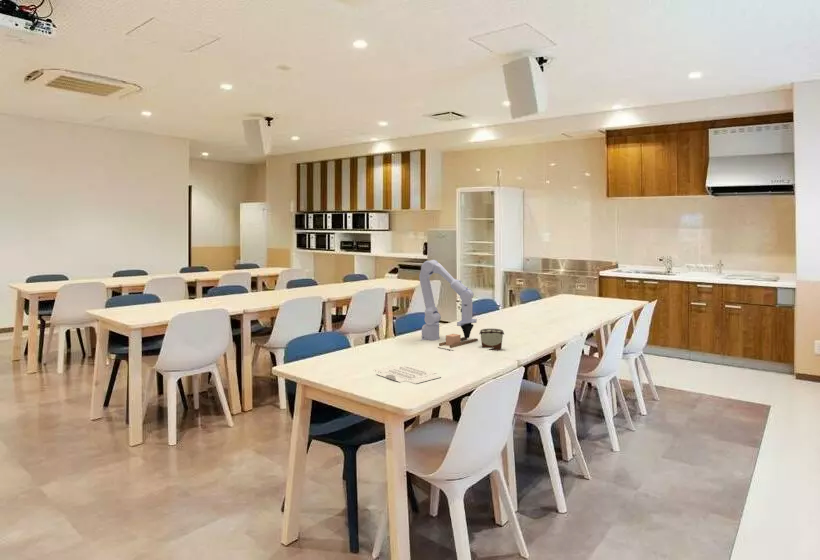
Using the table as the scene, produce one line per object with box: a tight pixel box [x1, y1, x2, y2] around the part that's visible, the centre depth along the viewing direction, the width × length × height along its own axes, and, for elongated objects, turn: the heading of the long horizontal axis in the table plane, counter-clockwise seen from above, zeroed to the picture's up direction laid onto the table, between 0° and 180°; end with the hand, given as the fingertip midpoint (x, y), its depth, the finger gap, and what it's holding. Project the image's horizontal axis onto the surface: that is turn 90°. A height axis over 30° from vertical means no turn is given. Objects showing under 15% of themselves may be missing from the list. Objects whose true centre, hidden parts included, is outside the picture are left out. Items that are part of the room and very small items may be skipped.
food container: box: [478, 328, 505, 351], centre depth 270 cm, size 12×6×10 cm, turn 84°
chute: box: [437, 336, 479, 352], centre depth 279 cm, size 10×22×2 cm, turn 137°
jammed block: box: [445, 333, 462, 347], centre depth 275 cm, size 5×6×5 cm
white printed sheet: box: [374, 364, 442, 385], centre depth 225 cm, size 20×28×4 cm
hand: (466, 337), depth 284 cm, fingers closed
